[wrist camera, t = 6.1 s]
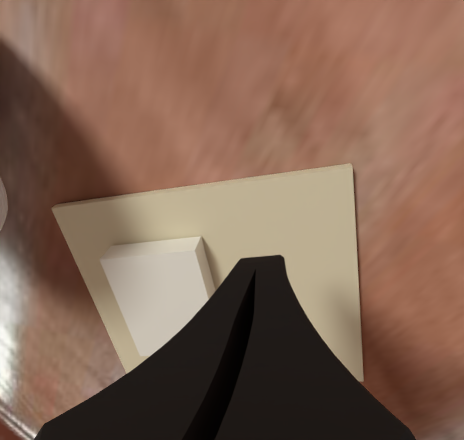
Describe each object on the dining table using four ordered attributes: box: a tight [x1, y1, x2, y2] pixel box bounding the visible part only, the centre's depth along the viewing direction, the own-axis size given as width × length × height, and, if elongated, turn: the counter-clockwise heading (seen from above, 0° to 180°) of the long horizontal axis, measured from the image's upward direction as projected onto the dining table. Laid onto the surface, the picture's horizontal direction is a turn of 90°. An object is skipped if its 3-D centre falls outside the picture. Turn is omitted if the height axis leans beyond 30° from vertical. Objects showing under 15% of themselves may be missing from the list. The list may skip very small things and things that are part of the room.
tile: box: [100, 236, 216, 356], centre depth 23 cm, size 2×8×6 cm
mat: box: [51, 163, 364, 381], centre depth 24 cm, size 18×16×1 cm
